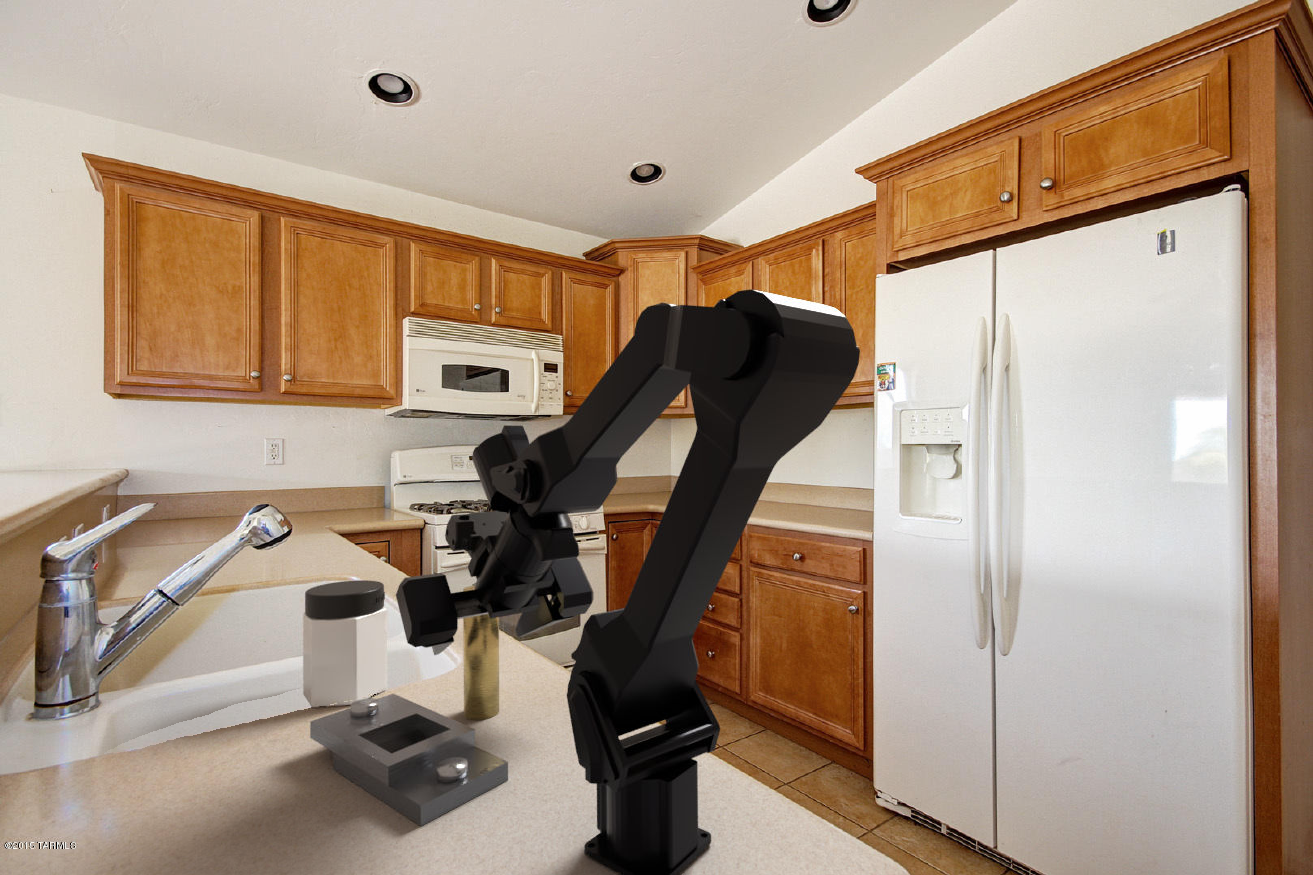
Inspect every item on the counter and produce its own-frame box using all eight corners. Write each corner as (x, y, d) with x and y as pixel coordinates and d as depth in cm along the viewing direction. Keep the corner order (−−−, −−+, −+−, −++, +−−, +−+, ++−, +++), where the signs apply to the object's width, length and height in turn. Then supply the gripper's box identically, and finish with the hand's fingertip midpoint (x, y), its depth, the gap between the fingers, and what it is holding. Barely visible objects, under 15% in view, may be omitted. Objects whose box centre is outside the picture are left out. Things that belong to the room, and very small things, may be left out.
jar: (395, 695, 71) (395, 588, 71) (314, 715, 65) (314, 600, 66) (372, 673, 78) (372, 576, 78) (298, 690, 72) (297, 586, 73)
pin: (506, 710, 66) (505, 587, 66) (477, 722, 63) (477, 593, 63) (485, 702, 68) (484, 583, 68) (456, 713, 65) (456, 589, 66)
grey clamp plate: (508, 779, 52) (507, 733, 52) (420, 826, 46) (420, 773, 46) (393, 723, 63) (393, 685, 63) (310, 754, 57) (310, 712, 57)
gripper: (579, 482, 68) (532, 568, 77) (401, 491, 57) (370, 591, 65) (621, 565, 62) (565, 649, 71) (430, 594, 50) (392, 689, 59)
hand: (478, 641), depth 67 cm, fingers open, 9 cm apart
